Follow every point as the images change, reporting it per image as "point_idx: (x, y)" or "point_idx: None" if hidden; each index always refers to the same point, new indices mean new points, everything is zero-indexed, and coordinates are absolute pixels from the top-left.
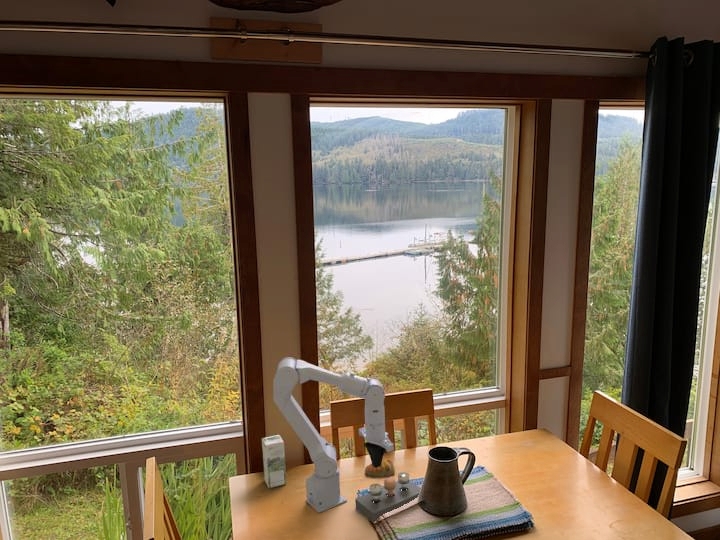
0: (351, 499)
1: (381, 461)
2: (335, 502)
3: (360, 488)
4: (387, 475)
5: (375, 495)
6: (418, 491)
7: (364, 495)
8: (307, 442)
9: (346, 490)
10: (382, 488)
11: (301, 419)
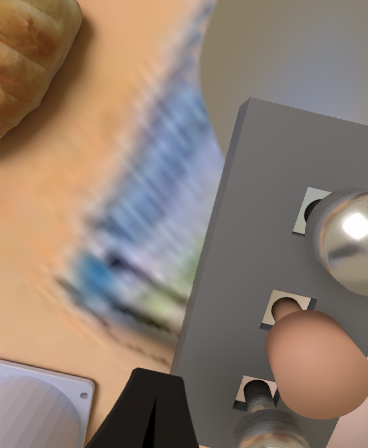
0: (96, 355)
1: (190, 422)
2: (77, 433)
3: (55, 266)
4: (63, 62)
5: None
6: None
7: None
8: None
9: (21, 317)
10: (206, 290)
11: None
